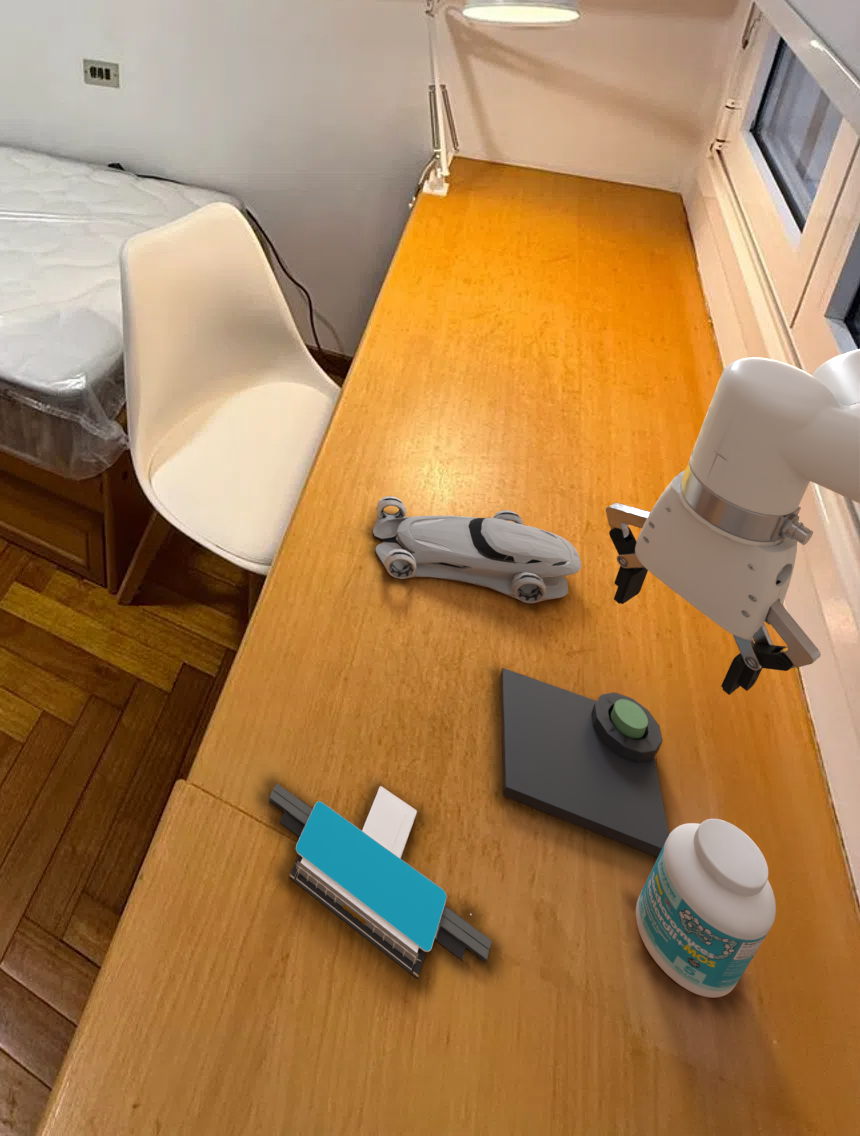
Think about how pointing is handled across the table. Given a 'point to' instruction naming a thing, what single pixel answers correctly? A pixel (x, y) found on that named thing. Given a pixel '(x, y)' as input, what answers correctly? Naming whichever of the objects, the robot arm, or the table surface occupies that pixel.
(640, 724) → the button
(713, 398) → the robot arm
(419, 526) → the car model
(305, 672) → the table surface
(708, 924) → the pill bottle
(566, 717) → the scale
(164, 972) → the table surface
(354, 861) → the blue paper trimmer
